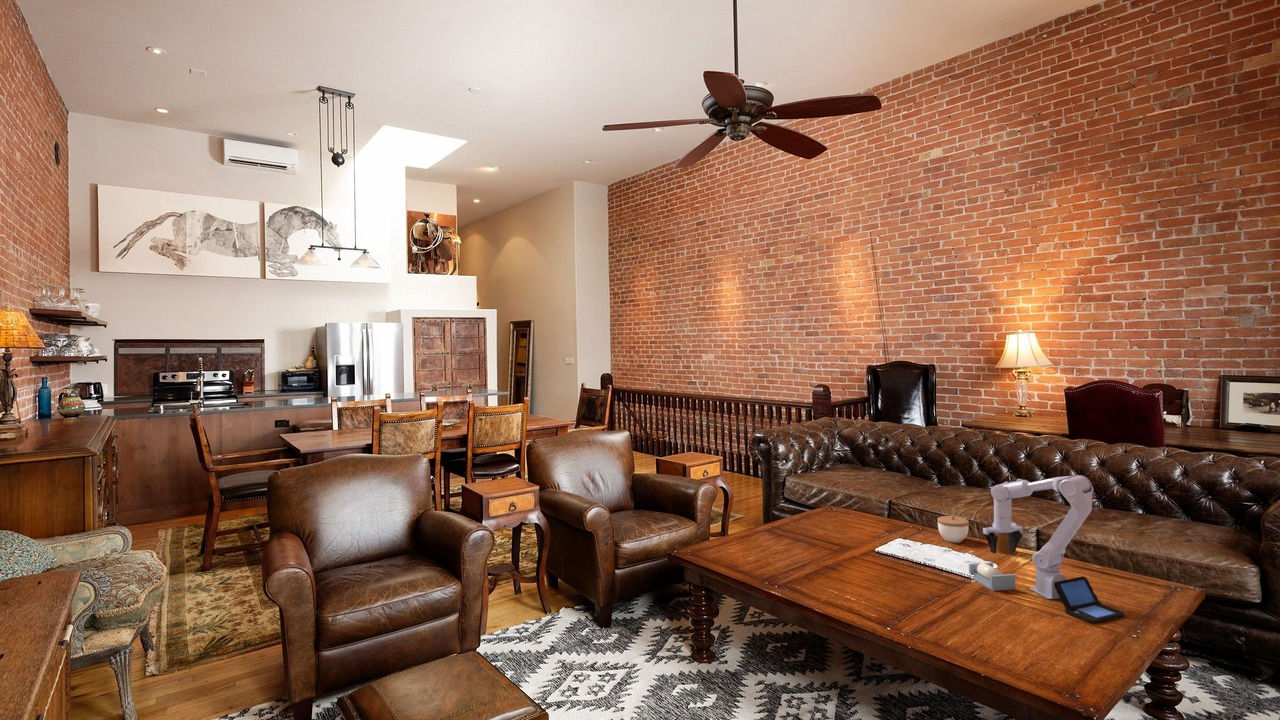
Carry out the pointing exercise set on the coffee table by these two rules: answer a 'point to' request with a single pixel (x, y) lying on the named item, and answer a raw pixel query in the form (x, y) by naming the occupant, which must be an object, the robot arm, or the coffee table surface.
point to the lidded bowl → (953, 528)
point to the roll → (987, 571)
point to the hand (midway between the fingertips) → (1002, 552)
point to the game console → (1084, 601)
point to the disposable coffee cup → (1003, 542)
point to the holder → (993, 579)
